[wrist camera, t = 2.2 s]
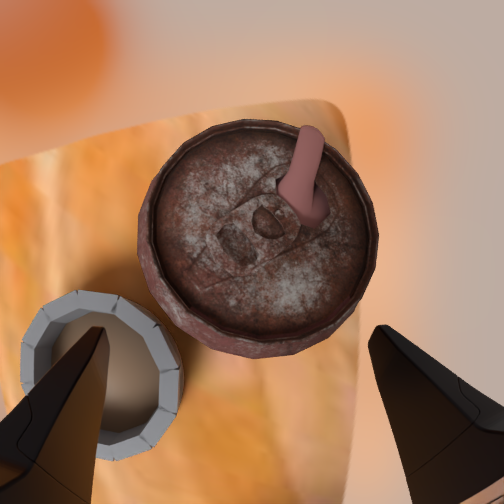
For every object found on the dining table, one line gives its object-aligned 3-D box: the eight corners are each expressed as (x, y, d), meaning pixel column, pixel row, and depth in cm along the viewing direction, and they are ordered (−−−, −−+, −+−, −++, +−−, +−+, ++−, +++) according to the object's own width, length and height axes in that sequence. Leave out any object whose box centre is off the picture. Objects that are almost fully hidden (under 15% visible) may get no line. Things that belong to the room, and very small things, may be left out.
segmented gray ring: (182, 452, 17) (180, 473, 14) (44, 425, 15) (21, 438, 12) (188, 304, 20) (187, 299, 16) (48, 286, 18) (25, 277, 15)
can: (277, 259, 21) (397, 148, 8) (254, 351, 19) (369, 383, 6) (190, 233, 21) (191, 75, 7) (162, 325, 19) (90, 311, 6)
